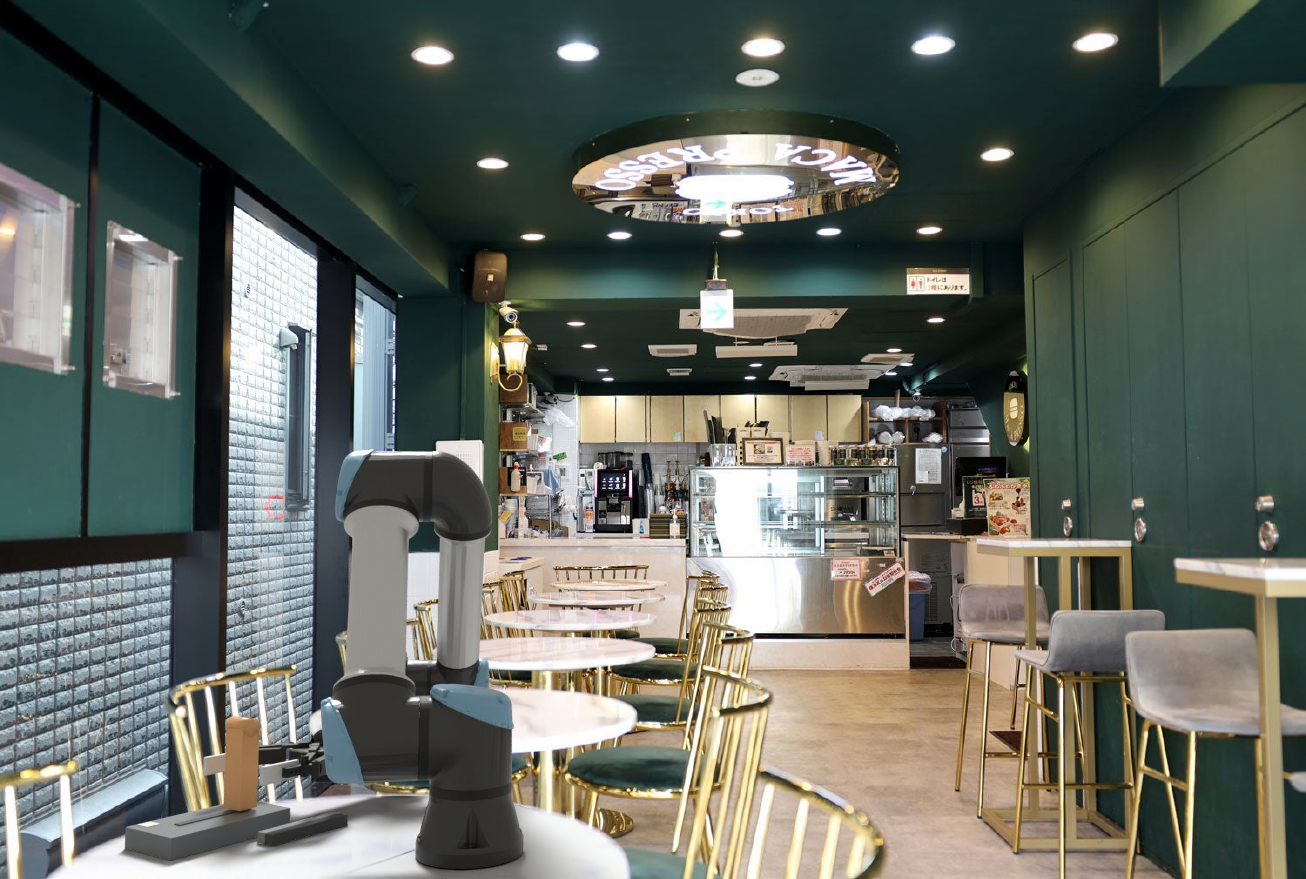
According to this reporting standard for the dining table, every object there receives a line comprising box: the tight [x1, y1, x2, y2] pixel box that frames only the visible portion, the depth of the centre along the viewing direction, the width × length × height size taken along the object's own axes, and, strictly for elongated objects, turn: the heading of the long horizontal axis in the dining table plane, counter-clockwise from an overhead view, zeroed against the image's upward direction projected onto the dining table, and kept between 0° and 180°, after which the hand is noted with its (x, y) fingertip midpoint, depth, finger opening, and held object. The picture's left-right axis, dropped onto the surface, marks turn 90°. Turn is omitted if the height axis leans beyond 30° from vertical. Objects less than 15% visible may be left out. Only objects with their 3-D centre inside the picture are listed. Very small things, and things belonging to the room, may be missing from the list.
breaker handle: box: [222, 715, 262, 811], centre depth 163 cm, size 5×3×14 cm, turn 58°
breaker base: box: [124, 800, 291, 861], centre depth 158 cm, size 11×20×3 cm, turn 148°
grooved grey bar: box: [256, 811, 349, 848], centre depth 160 cm, size 3×14×2 cm, turn 148°
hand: (232, 771), depth 161 cm, fingers open, 13 cm apart
